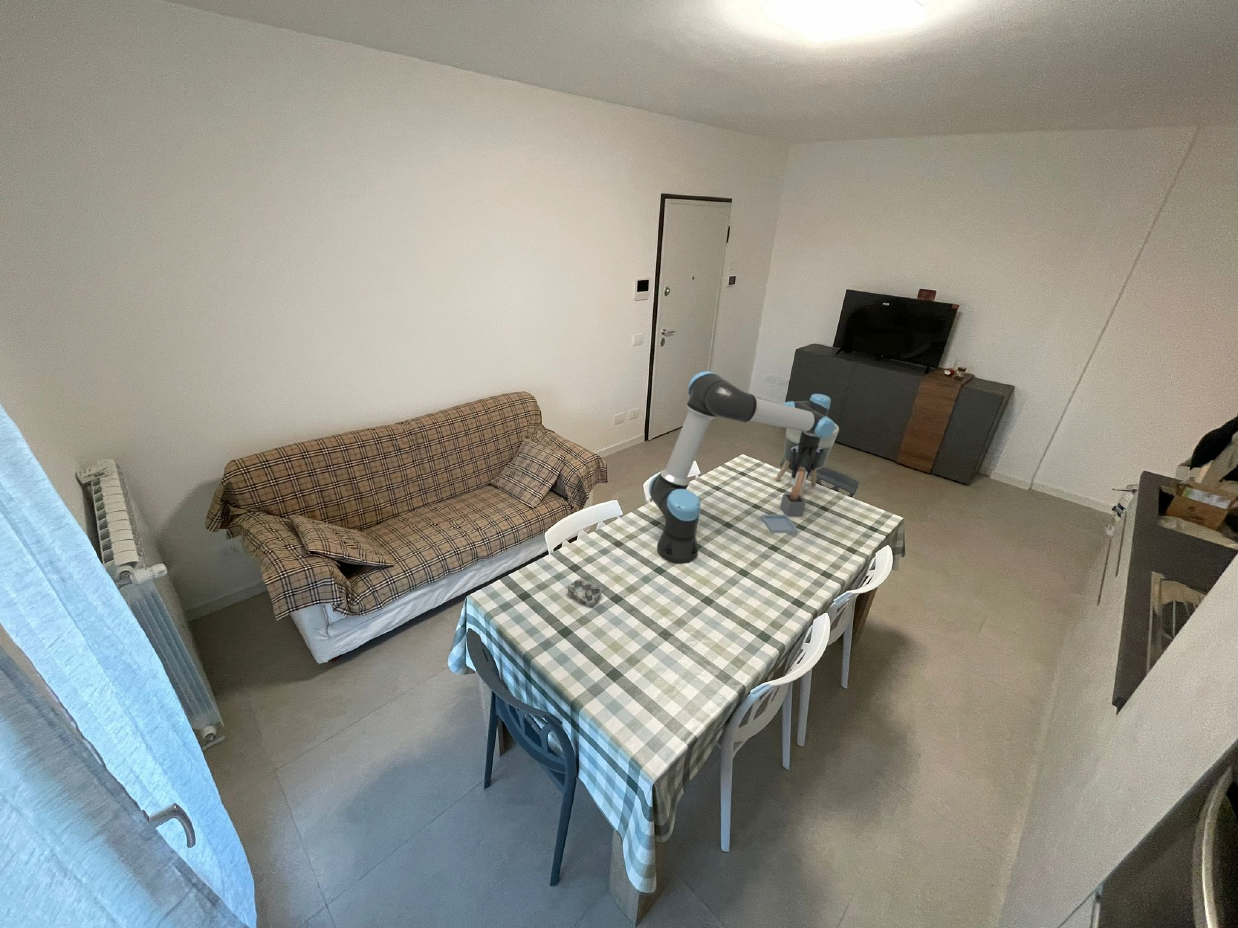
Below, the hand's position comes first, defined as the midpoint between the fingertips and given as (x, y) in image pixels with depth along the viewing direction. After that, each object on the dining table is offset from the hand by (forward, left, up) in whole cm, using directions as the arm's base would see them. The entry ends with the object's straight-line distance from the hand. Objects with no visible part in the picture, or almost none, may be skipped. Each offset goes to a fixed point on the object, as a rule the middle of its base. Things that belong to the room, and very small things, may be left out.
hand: (797, 484), depth 206 cm
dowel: (0, 0, -7) cm, 7 cm away
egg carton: (-91, -47, -15) cm, 103 cm away
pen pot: (0, 0, -14) cm, 14 cm away
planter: (+13, +22, -15) cm, 29 cm away
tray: (-9, -9, -14) cm, 20 cm away
